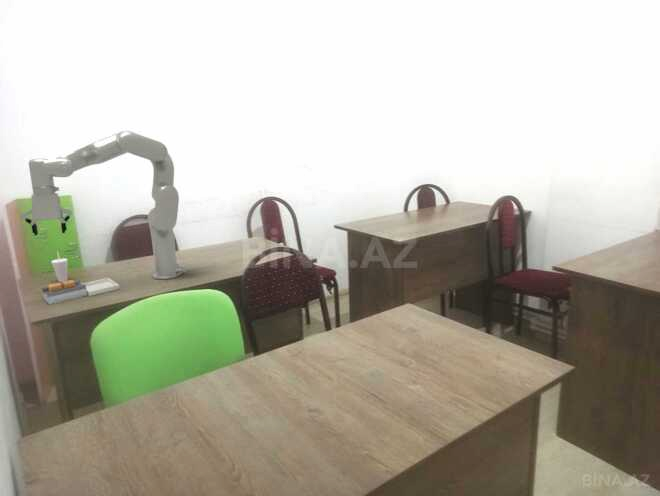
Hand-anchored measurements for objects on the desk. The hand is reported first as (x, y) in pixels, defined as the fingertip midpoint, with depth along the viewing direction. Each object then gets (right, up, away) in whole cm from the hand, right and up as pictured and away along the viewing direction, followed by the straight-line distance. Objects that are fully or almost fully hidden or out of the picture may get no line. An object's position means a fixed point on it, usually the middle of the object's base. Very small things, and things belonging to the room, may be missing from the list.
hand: (50, 233), depth 191 cm
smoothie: (-9, -21, +25) cm, 34 cm away
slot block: (+4, -26, +4) cm, 26 cm away
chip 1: (+2, -23, +1) cm, 23 cm away
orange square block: (+5, -22, +4) cm, 24 cm away
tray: (+14, -23, +12) cm, 30 cm away
